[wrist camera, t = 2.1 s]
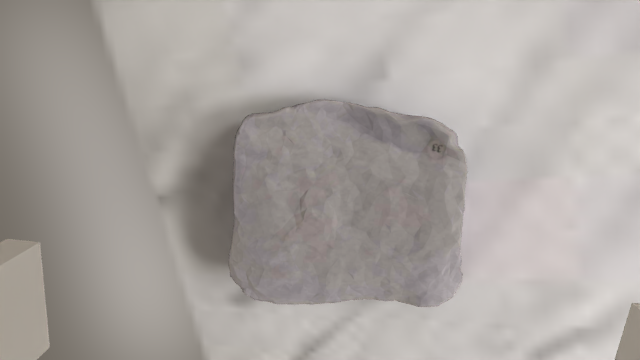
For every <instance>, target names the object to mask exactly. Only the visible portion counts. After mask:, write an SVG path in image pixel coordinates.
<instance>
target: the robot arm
mask: <svg viewBox="0 0 640 360" xmlns="http://www.w3.org/2000/svg"><path fill="white" fill-rule="evenodd" d="M49 347H50V344H49V333H48V322H47V312H46V301H45V290H44V279H43V268H42V258H41V247H40V242H33V241H24V240H14V239H6V240H4V241H2V242H0V360H37V359H38V358H39V357H40V356H41V355H42V354H43V353H44V352H45V351H46V350H47V349H48V348H49ZM615 360H640V304H638V303H632V304H631V308H630V311H629V314H628V318H627V321H626V324H625V327H624V331H623V334H622V337H621V341H620V344H619V347H618V351H617V354H616V357H615Z"/></svg>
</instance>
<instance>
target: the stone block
mask: <svg viewBox="0 0 640 360" xmlns="http://www.w3.org/2000/svg"><path fill="white" fill-rule="evenodd" d="M233 167H234V172H233V205H234V216H235V221H234V228H233V234H232V245H231V248H230V253H229V269H230V276H231V277H232V278H233V280H234V281H235V283H237V284H238V285H239V286H240V287H241V289H242V290H243V293H245V294H246V295H248V296H250V297H251V298H253V299H254V300H259V301H268V302H272V303H275V304H320V303H335V302H341V301H347V300H357V299H376V300H382V301H394V300H396V301H399V302H403V303H407V304H411V305H415V306H418V307H433V306H439V305H440V304H442V303H444V302H445V301H447V300H449V299H451V298H452V297H453V296H454V294H455V293H456V291H457V289H458V288H459V286H460V284H461V282H462V275H463V274H462V272H461V262H462V260H461V255H460V244H461V234H462V221H463V212H464V206H465V186H466V178H467V165H466V157H465V154H464V152H463V150H462V149H460V147H459V146H458V140H457V135H456V133H455V132H454V131H453V130H451V129H449V128H448V127H446V126H445V125H444V124H442V123H440V122H438V121H436V120H434V119H431V118H428V117H422V116H410V115H403V114H398V113H393V112H388V111H386V110H383V109H381V108H377V107H364V106H361V105H358V104H352V103H344V102H338V101H332V100H315V101H312V102H309V103H302V104H298V105H295V106H293V107H285V108H282V109H280V110H278V111H275V112H270V113H257V114H251V115H248V116H247V117H246V118H245V119H244V120H243V121H242V124H241V126H240V127H239V129H238V131H237V134H236V137H235V142H234V162H233Z"/></svg>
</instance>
